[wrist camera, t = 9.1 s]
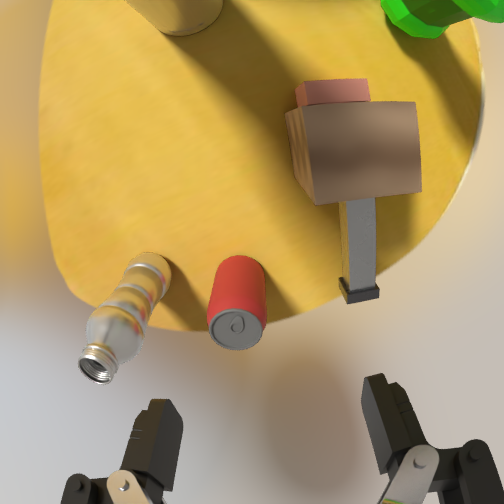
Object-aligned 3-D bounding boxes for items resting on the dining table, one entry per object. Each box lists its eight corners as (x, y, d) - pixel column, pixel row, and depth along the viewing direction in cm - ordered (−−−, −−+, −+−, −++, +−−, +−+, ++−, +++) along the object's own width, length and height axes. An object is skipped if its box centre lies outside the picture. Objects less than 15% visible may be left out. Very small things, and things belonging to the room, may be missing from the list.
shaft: (324, 127, 26) (334, 128, 23) (360, 124, 26) (374, 125, 23) (338, 286, 34) (347, 304, 30) (368, 280, 33) (379, 297, 30)
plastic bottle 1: (183, 262, 39) (135, 370, 21) (163, 296, 42) (117, 403, 24) (143, 238, 38) (69, 331, 20) (126, 274, 40) (61, 370, 22)
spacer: (294, 89, 30) (303, 81, 24) (347, 85, 30) (366, 78, 24) (298, 108, 31) (307, 104, 25) (350, 104, 31) (370, 100, 25)
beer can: (269, 258, 39) (275, 312, 28) (258, 299, 42) (259, 358, 31) (220, 248, 39) (208, 299, 28) (212, 290, 41) (200, 347, 30)
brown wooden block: (284, 113, 31) (301, 106, 20) (363, 106, 30) (415, 101, 19) (294, 177, 35) (315, 205, 23) (371, 168, 34) (421, 192, 22)
